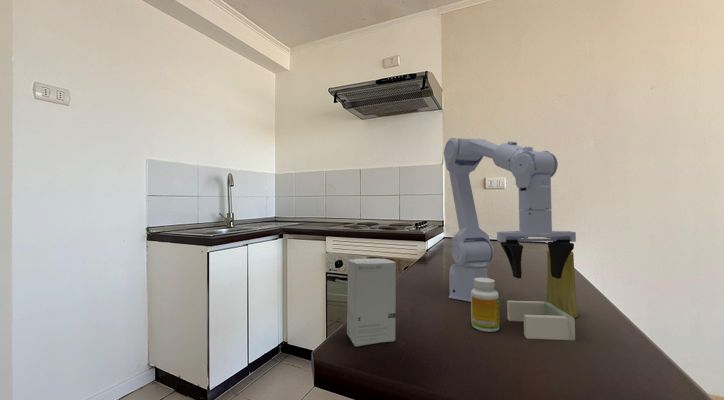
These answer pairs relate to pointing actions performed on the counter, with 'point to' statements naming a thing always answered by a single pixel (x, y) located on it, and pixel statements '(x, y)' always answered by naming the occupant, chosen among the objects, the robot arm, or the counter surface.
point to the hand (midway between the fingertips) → (536, 277)
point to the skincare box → (371, 301)
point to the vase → (562, 287)
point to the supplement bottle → (485, 305)
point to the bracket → (542, 320)
